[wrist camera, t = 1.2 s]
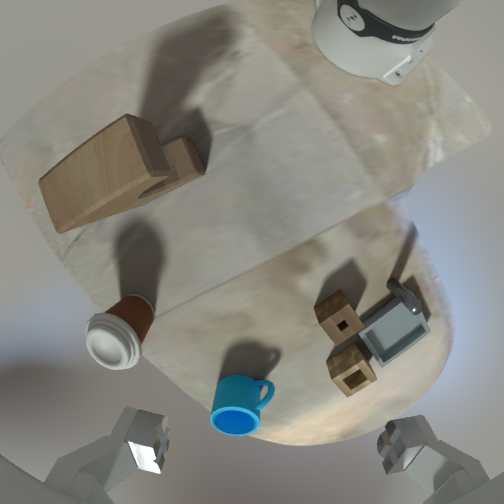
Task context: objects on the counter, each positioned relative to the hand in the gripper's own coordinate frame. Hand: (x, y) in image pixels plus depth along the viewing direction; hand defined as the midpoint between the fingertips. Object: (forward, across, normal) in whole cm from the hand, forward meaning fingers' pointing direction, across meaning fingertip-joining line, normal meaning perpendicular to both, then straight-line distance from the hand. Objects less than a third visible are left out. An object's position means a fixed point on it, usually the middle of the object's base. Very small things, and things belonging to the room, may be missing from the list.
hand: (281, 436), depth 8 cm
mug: (+33, 0, +27) cm, 43 cm away
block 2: (+33, -17, +21) cm, 42 cm away
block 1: (+33, -12, +10) cm, 36 cm away
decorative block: (+33, +15, -8) cm, 37 cm away
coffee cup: (+33, +20, +14) cm, 41 cm away
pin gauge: (+32, -21, +5) cm, 39 cm away
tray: (+33, -24, +13) cm, 42 cm away
